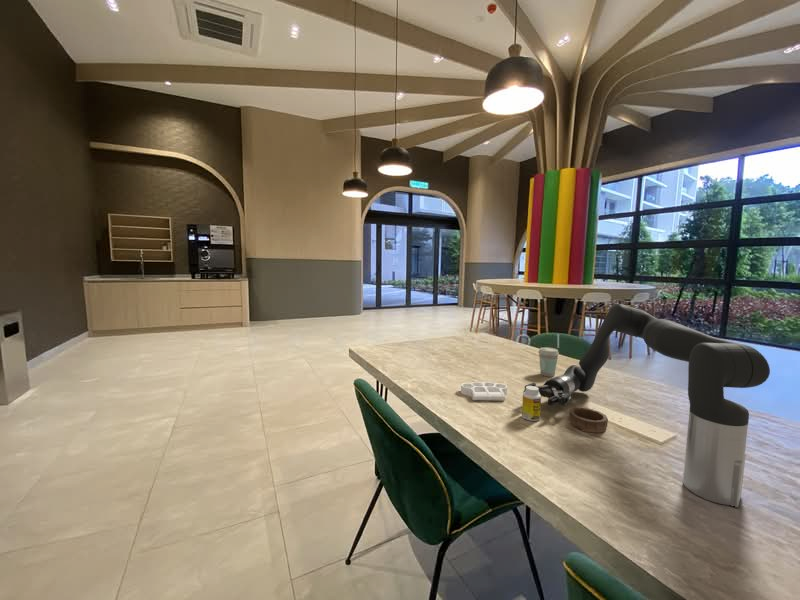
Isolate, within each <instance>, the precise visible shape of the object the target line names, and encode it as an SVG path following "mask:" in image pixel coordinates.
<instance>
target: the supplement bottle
mask: <svg viewBox="0 0 800 600" xmlns="http://www.w3.org/2000/svg"><path fill="white" fill-rule="evenodd" d="M541 403H542V396H541V395H540V393H539V388H538V387H535V386H526V391H525V392H524V393H522V406H521V409H522V410H521V415H522V418H523V419H524V420H526V421H528V422H529V421H531V422H537V421H540V419H541V407H542V404H541Z"/></svg>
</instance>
